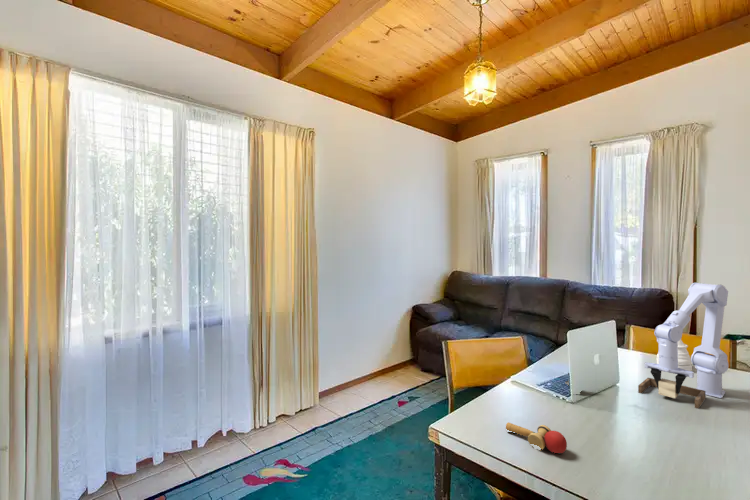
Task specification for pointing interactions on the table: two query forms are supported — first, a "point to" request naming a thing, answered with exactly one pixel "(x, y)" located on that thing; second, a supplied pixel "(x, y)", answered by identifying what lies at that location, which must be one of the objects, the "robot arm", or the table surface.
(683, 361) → the honey pot
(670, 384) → the maple block
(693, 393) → the open walnut frame
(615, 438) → the table surface
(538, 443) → the kendama
